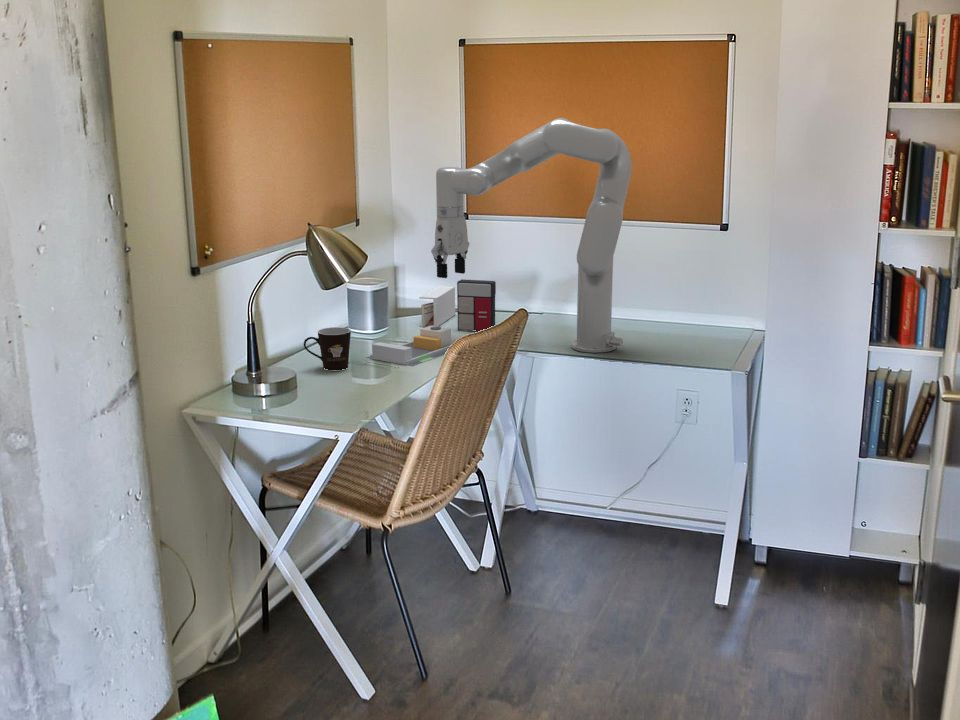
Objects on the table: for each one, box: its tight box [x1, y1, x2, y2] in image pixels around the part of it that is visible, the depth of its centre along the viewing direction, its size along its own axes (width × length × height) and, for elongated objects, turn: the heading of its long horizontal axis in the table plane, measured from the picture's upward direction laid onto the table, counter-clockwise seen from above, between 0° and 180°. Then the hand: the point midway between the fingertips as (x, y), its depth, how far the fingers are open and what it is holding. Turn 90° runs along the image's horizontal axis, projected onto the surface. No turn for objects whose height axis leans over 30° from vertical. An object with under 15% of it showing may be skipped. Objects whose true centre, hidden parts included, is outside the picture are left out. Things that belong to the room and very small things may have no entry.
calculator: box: [456, 278, 497, 332], centre depth 320 cm, size 11×4×15 cm, turn 73°
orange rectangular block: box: [412, 335, 441, 351], centre depth 296 cm, size 2×8×3 cm, turn 56°
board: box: [365, 340, 450, 369], centre depth 292 cm, size 25×16×5 cm, turn 146°
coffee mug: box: [303, 326, 352, 371], centre depth 281 cm, size 12×9×10 cm
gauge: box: [419, 326, 452, 348], centre depth 299 cm, size 5×7×5 cm
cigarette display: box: [418, 285, 456, 328], centre depth 334 cm, size 20×6×9 cm, turn 164°
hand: (451, 275), depth 301 cm, fingers open, 7 cm apart
